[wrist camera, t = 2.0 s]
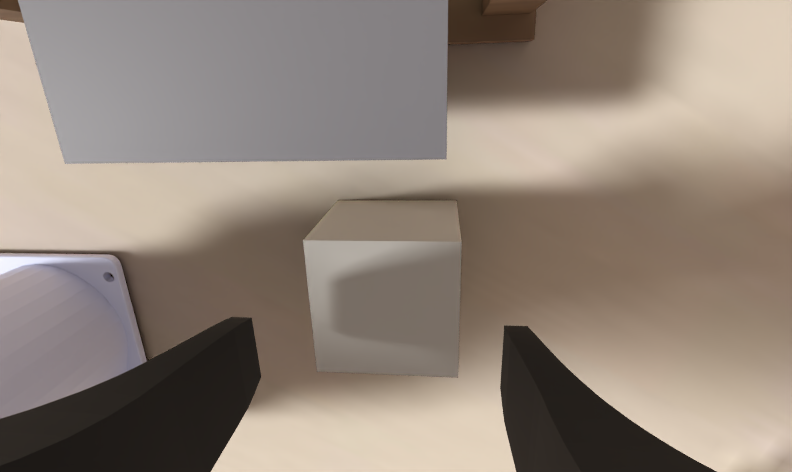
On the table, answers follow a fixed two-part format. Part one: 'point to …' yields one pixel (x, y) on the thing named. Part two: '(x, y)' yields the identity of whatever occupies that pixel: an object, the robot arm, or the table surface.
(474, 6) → the frame
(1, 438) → the robot arm
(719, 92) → the table surface
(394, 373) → the light grey cube
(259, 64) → the trapdoor
